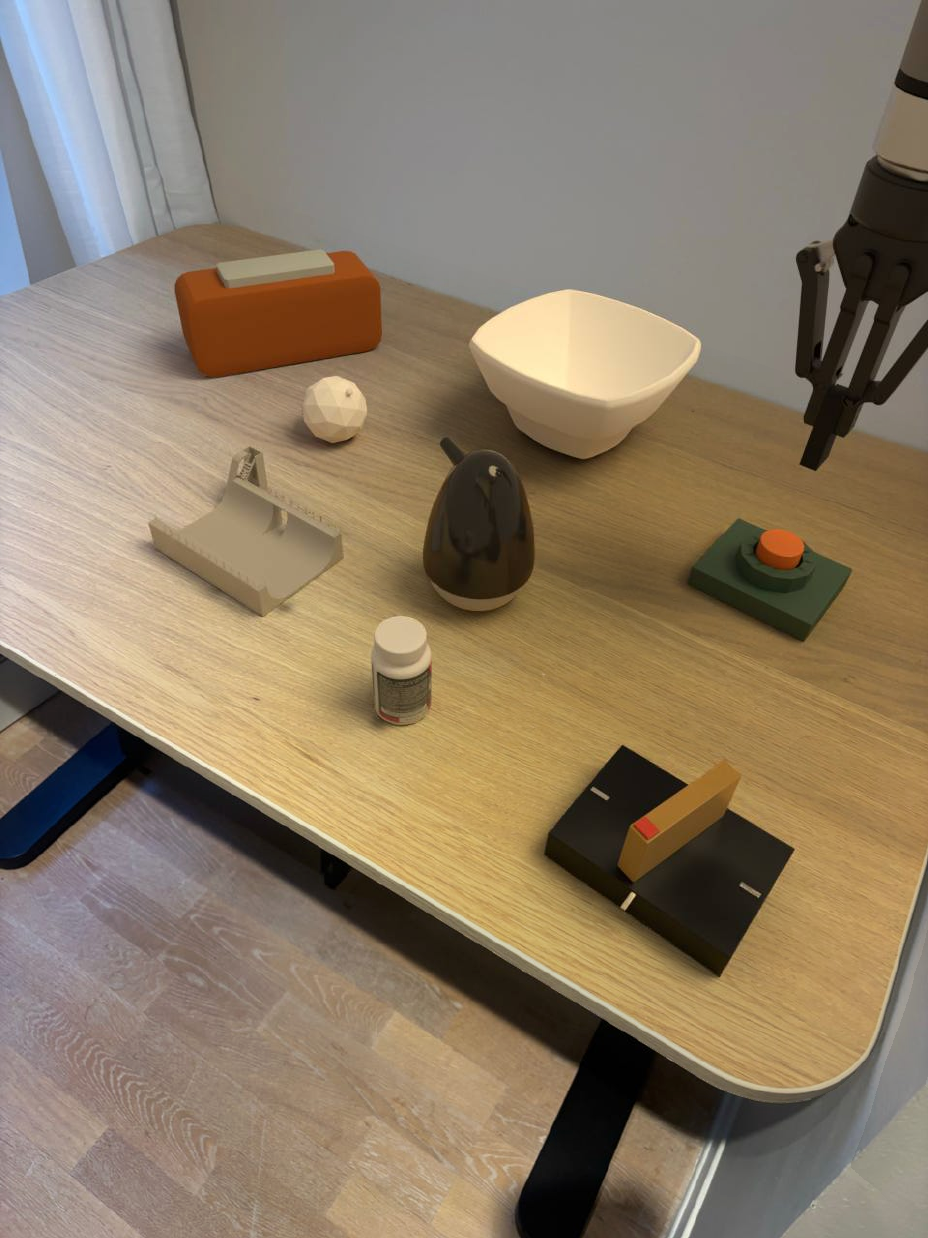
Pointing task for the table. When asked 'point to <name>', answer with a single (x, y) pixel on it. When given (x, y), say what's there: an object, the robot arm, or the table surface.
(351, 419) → the ornament
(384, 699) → the pill bottle
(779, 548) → the button
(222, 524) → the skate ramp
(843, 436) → the robot arm
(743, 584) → the button block
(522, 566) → the pump dispenser
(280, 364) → the alarm clock
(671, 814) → the rectangular block
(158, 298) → the table surface
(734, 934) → the knob panel
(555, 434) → the bowl
